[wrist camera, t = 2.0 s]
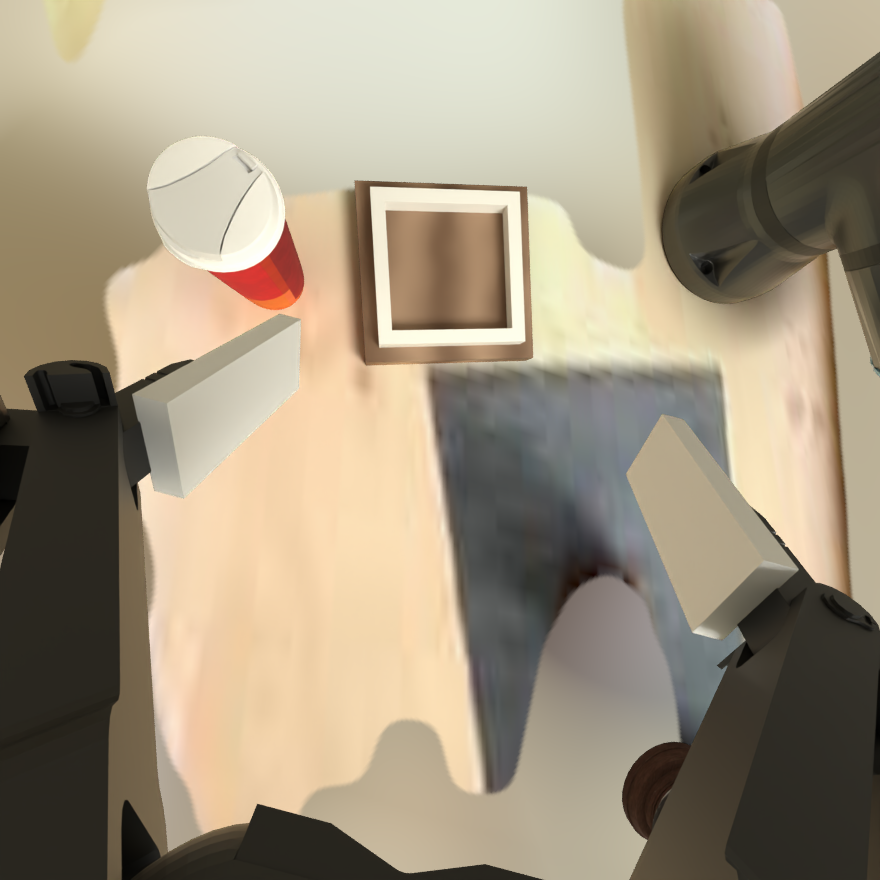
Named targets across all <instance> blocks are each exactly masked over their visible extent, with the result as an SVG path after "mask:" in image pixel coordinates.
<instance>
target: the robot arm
mask: <svg viewBox="0 0 880 880" xmlns="http://www.w3.org/2000/svg"><path fill="white" fill-rule="evenodd" d="M662 235H663V244H664V249H665V253H666V256H667V259H668V261H669V264H670V266H671V268H672V270H673V271H674V273H675V275H676V276H677V277H678V279H679V280H680V281H681V282H682V284H683V285H684V286H685V287H686V288H687V289H689V290H690V291H691V292H692V293H694V294H695V295H697V296H699V297H701V298H703V299H705V300H707V301H711V302H714V303H721V304H731V303H737V302H741V301H744V300H747V299H750V298H753V297H756V296H759V295H762V294H764V293H766V292H768V291H770V290H772V289H774V288H775V287H777V286H778V285H779V284H781V283H782V282H783V281H785V280H786V279H788V278H789V277H790V276H792V275H793V274H795V273H796V272H797V271H799V270H800V269H802V268H803V267H804V266H806V265H807V264H808V263H810V262H811V261H813V260H814V259H815V258H817V257H818V256H820V255H821V254H824V253H827V252H829V251H832V250H834V249H838V252H839V255H840V258H841V261H842V264H843V267H844V271H845V274H846V277H847V281H848V284H849V287H850V290H851V294H852V297H853V300H854V303H855V307H856V310H857V313H858V316H859V319H860V323H861V326H862V329H863V332H864V336H865V338H866V342H867V345H868V348H869V352H870V355H871V357H870V361H871V365H872V366H873V370H874V371H875V372H876V373H877V375H878V376H879V377H880V52H879V53H878V54H876V55H875V56H873V57H872V58H871V59H869V60H868V61H867V62H866V63H864V64H863V65H861V66H860V67H859V68H858V69H856V70H855V71H854V72H852V73H851V74H849V75H848V76H846V77H845V78H844V79H842V80H841V81H840V82H838V83H837V84H836V85H834V86H833V87H832V88H830V89H829V90H828V91H826V92H825V93H824V94H822V95H821V96H819V97H818V98H817V99H815V100H814V101H813V102H811V103H810V104H809V105H807V106H806V107H805V108H803V109H802V110H800V111H799V112H798V113H796V114H795V115H794V116H792V117H791V118H790V119H789V120H787V121H786V122H784V123H783V124H782V125H780V126H779V127H778V128H776V129H775V130H773V131H772V132H769V133H767V134H764V135H761V136H758V137H756V138H753V139H750V140H748V141H745V142H742V143H740V144H737V145H734V146H732V147H729V148H726V149H723V150H721V151H718V152H716V153H714V154H713V155H711V156H709V157H707V158H706V159H704V160H703V161H702V162H700V163H699V164H698V165H697V166H695V167H694V168H693V169H692V170H690V171H689V172H688V173H687V174H686V175H684V176H683V177H682V178H681V180H680V181H679V182H678V183H677V185H676V186H675V187H674V189H673V191H672V193H671V194H670V197H669V199H668V201H667V204H666V207H665V211H664V216H663V225H662ZM300 332H301V319H298V318H294V317H290V316H286V315H283V314H278V315H277V316H275V317H273V318H271V319H269V320H267V321H266V322H264V323H262V324H260V325H258V326H256V327H255V328H253V329H251V330H249V331H247V332H245V333H244V334H242V335H240V336H238V337H236V338H234V339H233V340H231V341H229V342H227V343H225V344H223V345H222V346H220V347H218V348H216V349H214V350H212V351H211V352H209V353H207V354H205V355H203V356H201V357H200V358H198V359H196V360H191V359H190V360H186V361H182V362H177V363H173V364H170V365H168V366H167V367H165V368H163V369H161V370H159V371H157V373H153V374H151V375H149V376H147V377H145V380H144V379H141V380H140V381H138V382H136V383H134V384H132V385H130V386H128V387H126V388H124V389H122V390H120V391H118V392H116V393H115V392H114V388H113V384H112V381H111V377H110V373H109V371H108V369H107V367H105V366H103V365H101V364H98V363H94V362H89V361H75V360H69V361H58V362H52V363H47V364H43V365H40V366H37V367H35V368H33V369H31V370H29V371H28V372H27V373H26V374H25V376H24V378H25V380H26V383H27V385H28V388H29V391H30V393H31V396H32V398H33V401H34V404H35V406H36V409H37V411H32V410H18V409H6V407H5V405H4V403H3V400H2V398H1V396H0V555H1V554H2V552H3V551H4V549H5V551H4V555H3V559H2V563H1V568H0V880H542V879H539V878H535V877H531V876H527V875H524V874H520V873H516V872H512V871H508V870H504V869H501V868H497V867H493V866H490V865H486V864H483V865H475V866H467V867H459V868H451V869H443V870H435V871H427V872H418V873H403V872H401V871H398V870H397V869H395V868H394V867H392V866H391V865H389V864H388V863H387V862H385V861H384V860H382V859H381V858H379V857H378V856H376V855H375V854H374V853H372V852H371V851H369V850H368V849H367V848H365V847H364V846H362V845H361V844H359V843H358V842H357V841H355V840H354V839H352V838H351V837H350V836H348V835H347V834H345V833H344V832H342V831H341V830H340V829H338V828H337V827H335V826H334V825H332V824H331V823H328V822H324V821H320V820H316V819H312V818H309V817H305V816H301V815H297V814H294V813H290V812H286V811H282V810H279V809H275V808H271V807H267V806H263V805H260V804H257V806H256V809H255V811H254V813H253V816H252V818H251V821H250V823H246V824H236V825H232V826H228V827H224V828H220V829H217V830H213V831H211V832H208V833H206V834H203V835H201V836H199V837H196V838H194V839H191V840H190V841H188V842H186V843H184V844H182V845H180V846H179V847H177V848H175V849H173V850H172V851H169V852H168V850H167V836H166V825H165V818H164V809H163V803H162V798H161V793H160V789H159V781H158V772H157V757H156V741H155V725H154V708H153V692H152V676H151V659H150V643H149V627H148V610H147V594H146V578H145V562H144V546H143V529H142V513H141V496H140V490H139V486H138V482H139V481H140V480H141V479H143V478H144V477H145V476H146V475H148V474H149V473H150V474H151V479H152V483H153V488H154V491H157V492H161V493H164V494H168V495H172V496H176V497H180V498H183V499H184V498H185V497H186V496H187V495H188V494H189V493H190V492H191V491H192V490H193V489H194V488H195V487H197V486H198V485H199V484H200V483H201V482H202V481H203V480H204V479H205V478H206V477H207V476H208V475H209V474H210V473H211V472H212V471H213V470H214V469H215V468H216V467H217V466H218V465H220V464H221V463H222V462H223V461H224V460H225V459H226V458H227V457H228V456H229V455H230V454H231V453H232V452H233V451H234V450H235V449H236V448H237V447H238V446H239V445H240V444H242V443H243V442H244V441H245V440H246V439H247V438H248V437H249V436H250V435H251V434H252V433H253V432H254V431H255V430H256V429H257V428H258V427H259V426H260V425H261V424H262V423H263V422H265V421H266V420H267V419H268V418H269V417H270V416H271V415H272V414H273V413H274V412H275V411H276V410H277V409H278V408H279V407H280V406H281V405H282V404H283V403H284V402H285V401H286V400H288V399H289V398H290V397H291V396H292V395H293V394H294V393H295V392H296V391H297V390H298V389H299V371H300ZM626 476H627V478H628V480H629V483H630V485H631V487H632V490H633V492H634V495H635V497H636V499H637V502H638V504H639V507H640V509H641V511H642V514H643V516H644V518H645V521H646V523H647V526H648V528H649V530H650V533H651V535H652V538H653V540H654V542H655V545H656V547H657V549H658V552H659V554H660V557H661V559H662V561H663V564H664V566H665V568H666V571H667V573H668V576H669V578H670V580H671V583H672V585H673V588H674V590H675V592H676V595H677V597H678V599H679V602H680V604H681V607H682V609H683V611H684V614H685V616H686V619H687V621H688V623H689V626H690V628H691V630H692V633H696V634H700V635H703V636H707V637H711V638H715V639H719V640H723V639H724V638H725V637H726V636H728V635H729V634H730V633H731V632H732V631H733V630H734V629H735V628H736V627H737V626H738V627H739V629H740V631H741V632H742V634H743V636H744V638H745V640H746V641H745V642H743V643H742V644H741V645H740V646H739V647H738V648H737V649H735V650H734V651H733V652H732V653H731V654H730V655H729V656H727V657H726V658H725V659H724V660H723V661H722V662H721V663H719V664H718V665H717V666H718V667H719V668H721V669H723V668H724V667H725V666H728V667H727V669H726V671H725V673H724V676H723V678H722V680H721V682H720V684H719V686H718V689H717V691H716V693H715V695H714V697H713V699H712V702H711V704H710V706H709V708H708V710H707V712H706V715H705V717H704V719H703V721H702V723H701V725H700V728H699V730H698V732H697V734H696V736H695V739H694V741H693V743H692V745H691V747H690V749H689V752H688V754H687V756H686V758H685V760H684V762H683V765H682V767H681V769H680V771H679V773H678V775H677V778H676V780H675V782H674V784H673V786H672V788H671V791H670V793H669V795H668V797H667V799H666V801H665V804H664V806H663V808H662V810H661V812H660V815H659V817H658V819H657V821H656V823H655V825H654V828H653V830H652V832H651V834H650V836H649V838H648V841H647V843H646V845H645V847H644V849H643V852H642V854H641V856H640V858H639V860H638V862H637V864H636V867H635V869H634V871H633V873H632V875H631V878H630V880H880V630H879V626H878V624H877V623H876V621H875V620H874V619H873V617H872V616H871V615H870V614H869V613H868V612H867V611H866V610H865V609H864V608H862V606H861V605H859V604H858V603H857V602H855V601H854V600H853V599H851V598H850V597H848V596H847V595H846V594H844V593H842V592H840V591H838V590H836V589H834V588H833V587H830V586H827V585H824V584H821V583H815V581H814V580H813V579H812V578H811V576H810V575H809V574H808V572H807V571H806V570H805V569H804V567H803V566H802V565H801V564H800V562H799V561H798V560H797V558H796V557H795V556H794V555H793V553H792V552H791V551H790V550H789V548H788V547H785V543H784V542H783V541H782V539H781V538H780V537H779V536H778V535H776V532H775V530H774V529H773V528H772V527H771V525H770V524H769V523H768V522H767V520H766V519H765V518H764V517H763V516H762V515H760V514H759V513H758V512H757V511H756V510H754V509H753V508H752V507H751V506H750V505H749V504H748V503H747V501H746V500H745V499H744V498H743V496H742V495H741V494H740V492H739V491H738V490H737V488H736V487H735V486H734V485H733V483H732V482H731V481H730V479H729V478H728V477H727V475H726V474H725V473H724V472H723V470H722V469H721V468H720V466H719V465H718V464H717V462H716V461H715V460H714V459H713V457H712V456H711V455H710V453H709V452H708V451H707V449H706V448H705V447H704V446H703V444H702V443H701V442H700V440H699V439H698V438H697V436H696V435H695V434H694V433H693V431H692V430H691V429H690V427H689V426H688V425H687V423H686V422H685V421H684V420H683V419H680V418H676V417H672V416H668V415H664V414H662V415H661V417H660V419H659V420H658V422H657V424H656V425H655V427H654V429H653V430H652V432H651V434H650V435H649V437H648V439H647V440H646V442H645V444H644V445H643V447H642V449H641V450H640V452H639V454H638V455H637V457H636V459H635V460H634V462H633V463H632V465H631V467H630V468H629V470H628V472H627V473H626Z"/></svg>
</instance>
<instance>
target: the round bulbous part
mask: <svg viewBox="0 0 880 880" xmlns="http://www.w3.org/2000/svg"><path fill="white" fill-rule="evenodd" d="M690 747H691V746H690V745H688V744H684V743H680V742H668V743H663V744H660V745H657V746H655V747H653V748H651V749H649V750H648V751H646V752H645V753H644V754H643V755H641V756H640V757H639V758H638V760H637V761H636V762H635V763H634V764H633V766H632V767H631V769H630V771H629V772H628V775H627V777H626V779H625V782H624V787H623V792H622V802H623V808H624V812H625V814H626V817H627V819H628V820H629V822H630V823H631V825H632V826H633V828H634V829H635V831H636V832H637V833H638V834H640V835H641V836H642V837H643V838H645V839H647V840H648V838H649V836H650V834H651V832H652V830H653V828H654V825H655V823H656V821H657V819H658V817H659V815H660V812H661V810H662V808H663V806H664V804H665V801H666V799H667V797H668V795H669V793H670V791H671V788H672V786H673V784H674V782H675V780H676V778H677V775H678V773H679V771H680V769H681V767H682V765H683V762H684V760H685V758H686V756H687V754H688V752H689V749H690Z"/></svg>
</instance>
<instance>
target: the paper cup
mask: <svg viewBox="0 0 880 880" xmlns="http://www.w3.org/2000/svg"><path fill="white" fill-rule="evenodd" d="M147 192H148V196H149V202H150V203H149V204H150V211H151V217H152V220H153V222H154V225H155V228H156V230H157V231H158V233H159V235H160V237H161V240H162V242H163V244H164V246H165V247H166V248H167V249H168V250H169V251H170V252H171V253H172V254H173V255H174V256H175V257H176V258H178V259H179V260H180V261H182V262H183V263H185V264H187V265H189V266H191V267H194V268H199V269H204V270H207V271H208V272H210V273H211V274H213V275H214V276H215V277H217V278H218V279H220V280H221V281H222V282H224V283H225V284H227V285H228V286H230V287H231V288H232V289H234V290H235V291H237V292H238V293H239V294H241V295H242V296H244V297H245V298H247V299H248V300H250V301H251V302H253V303H254V304H256V305H258V306H260V307H262V308H266V309H270V310H280V309H284V308H287V307H289V306H291V305H292V304H294V303H295V302H296V301H297V300H298V298H299V297H300V295H301V293H302V291H303V287H304V275H303V271H302V267H301V264H300V261H299V258H298V254H297V252H296V249H295V246H294V243H293V240H292V237H291V234H290V231H289V228H288V225H287V222H286V219H285V205H284V199H283V196H282V193H281V190H280V188H279V185H278V183H277V181H276V180H275V178H274V177H273V175H272V174H271V172H270V171H269V170H268V168H267V167H266V166H265V165H264V164H263V163H262V162H261V161H260V160H258V159H257V158H256V157H255V156H253V155H252V154H250V153H248V152H247V151H245V150H243V149H241V148H238V147H237V146H236V145H235V144H233V143H231V142H229V141H226V140H223V139H220V138H216V137H208V136H195V137H190V138H186V139H183V140H180V141H177V142H175V143H174V144H172V145H170V146H169V147H168V148H166V149H165V150H164V151H163V152H162V153H161V154H160V155H159V156H158V157H157V159H156V160H155V162H154V164H153V165H152V167H151V170H150V173H149V176H148V182H147Z"/></svg>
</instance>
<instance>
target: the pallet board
mask: <svg viewBox="0 0 880 880" xmlns="http://www.w3.org/2000/svg"><path fill="white" fill-rule="evenodd" d="M355 195H356V212H357V229H358V246H359V262H360V279H361V296H362V312H363V329H364V346H365V362H366V365H394V364H427V363H461V362H494V361H526V360H528V359H531V358H533V339H532V312H531V284H530V257H529V229H528V202H527V187H517V186H516V187H515V186H489V185H462V184H435V183H408V182H407V183H406V182H380V181H355Z"/></svg>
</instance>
